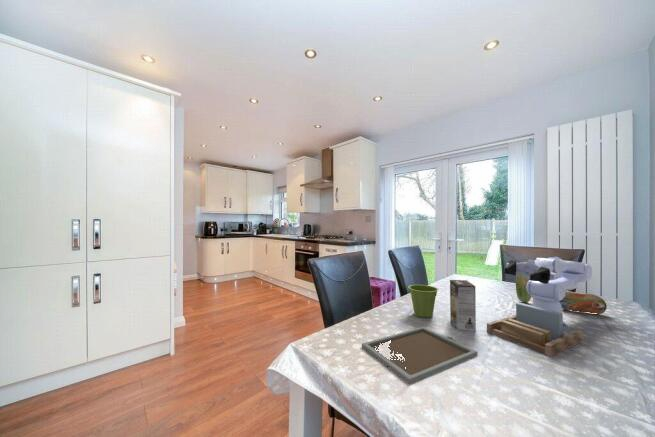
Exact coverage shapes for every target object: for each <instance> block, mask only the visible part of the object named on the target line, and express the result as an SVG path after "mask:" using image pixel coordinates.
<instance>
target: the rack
mask: <svg viewBox="0 0 655 437" xmlns="http://www.w3.org/2000/svg"><path fill="white" fill-rule="evenodd" d="M508 319H513V320H516V314H514V315H511V316H507V317H505V318H504V317H503V318H500V319H498V320H497V319H496V320H493V321H490V322H488V323H486V333H489V334H492V335H495V336H498V337H500V338H502V339H505V340H508V341H511V342H513V343H515V344H518V345H521V346H524V347H526V348H529V349H531V350H534V351H535V352H536V351H537V352H539V353H542V354H544V355H545V356H548V357H553V356H554V355H557V354H559V353H562V352H563V351H565V350H567V349H570V348H571V347H573V346H575V345H578V344H579V343H581V342H583V339H584V338H583V331H582V330H577V329H576V330H574V331H572V332H569V333H568V334H565V335H563V337H560V338H558V339H556V340H550V342H549V343H546V344H545V347H543V346H540V345H538V344H535V343H532V342H529V341H527V340H524V339H521V338H519V337H516V336H513V335H510V334H508V333H505V332H502V321H507V320H508Z"/></svg>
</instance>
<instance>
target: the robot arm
mask: <svg viewBox="0 0 655 437" xmlns="http://www.w3.org/2000/svg"><path fill="white" fill-rule="evenodd" d="M524 262H525V263H521V262H517V261H516V260H508V262H506V264H505V268H504V274H506V275H511V276H515V277H516V272H517V273H519V274H521V275H523V276H524V277H526V278H528V279H530V280H529V281H528V283H527V286H526V288H527V292H528V293H529V295H531V299H532V306H535V307H539V308H543V309H547V310H551V311H555V312H559V313H563V310H562V309H563V308H562V306H561V304H560V302H559V301H561V300H562V299H563V297H565V293H566V292H570V291H571V290H575V289H576V288H578V287H579V286H580V285H581V284H582V283H585V282H588V281H590V280H591V278H592V275H593V267H592V266H591V265H590V264H589V263H584V262H580V261H572V260H563V259H562V258H560V257H558V256H553V257H550V256H549V257H547V258H544V257H536V259H535V260H533V259H528V260H527V262H526V261H524ZM564 324H566V321H564V320H563V325H564Z"/></svg>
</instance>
